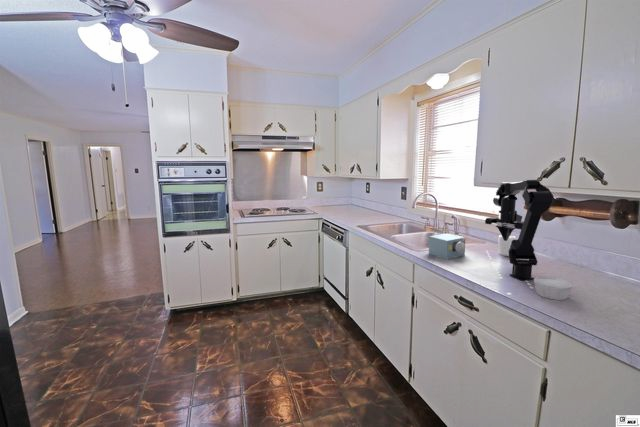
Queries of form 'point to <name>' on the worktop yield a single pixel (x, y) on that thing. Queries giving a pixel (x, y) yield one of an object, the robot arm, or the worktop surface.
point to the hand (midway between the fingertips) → (505, 240)
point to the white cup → (504, 245)
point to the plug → (459, 247)
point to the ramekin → (552, 288)
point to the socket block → (445, 245)
